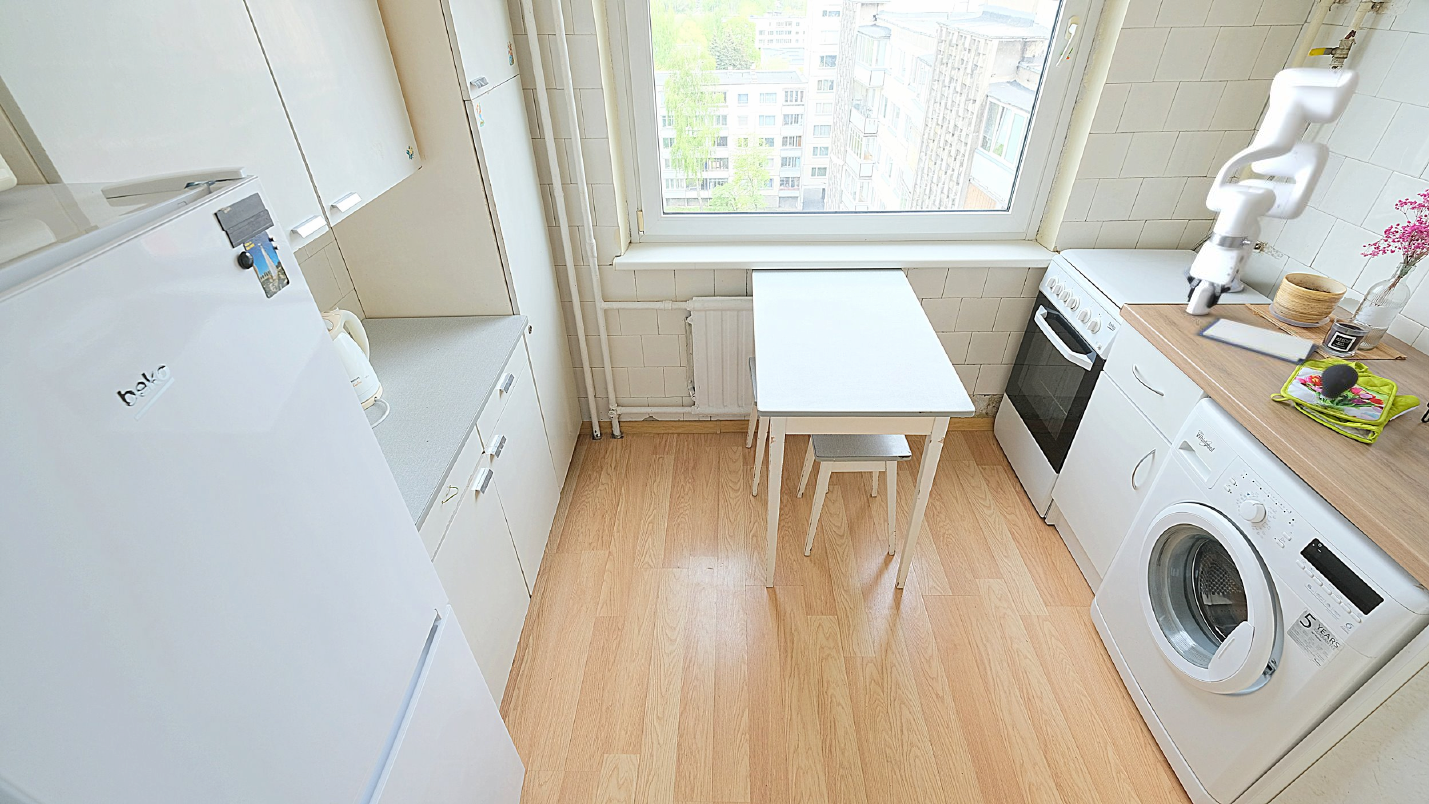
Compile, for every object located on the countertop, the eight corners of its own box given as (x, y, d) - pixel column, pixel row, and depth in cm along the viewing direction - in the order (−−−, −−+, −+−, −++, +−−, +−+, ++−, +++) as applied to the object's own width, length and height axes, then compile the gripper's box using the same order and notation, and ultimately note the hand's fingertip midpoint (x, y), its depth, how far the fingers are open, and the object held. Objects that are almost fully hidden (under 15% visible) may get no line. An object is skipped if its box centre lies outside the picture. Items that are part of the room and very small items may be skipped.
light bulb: (1299, 399, 140) (1322, 359, 135) (1325, 399, 140) (1349, 359, 134) (1319, 413, 135) (1343, 371, 130) (1346, 413, 135) (1371, 372, 130)
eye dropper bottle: (1210, 317, 177) (1228, 276, 171) (1186, 314, 179) (1203, 273, 173) (1206, 311, 181) (1224, 270, 174) (1183, 308, 182) (1200, 268, 176)
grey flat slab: (1218, 319, 176) (1219, 315, 176) (1318, 346, 162) (1320, 342, 161) (1197, 334, 168) (1198, 331, 167) (1300, 365, 153) (1302, 361, 153)
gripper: (1270, 245, 164) (1240, 311, 174) (1199, 230, 177) (1175, 291, 186) (1257, 251, 161) (1227, 317, 171) (1186, 234, 173) (1162, 297, 183)
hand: (1200, 303), depth 178 cm, fingers closed on eye dropper bottle, 4 cm apart
